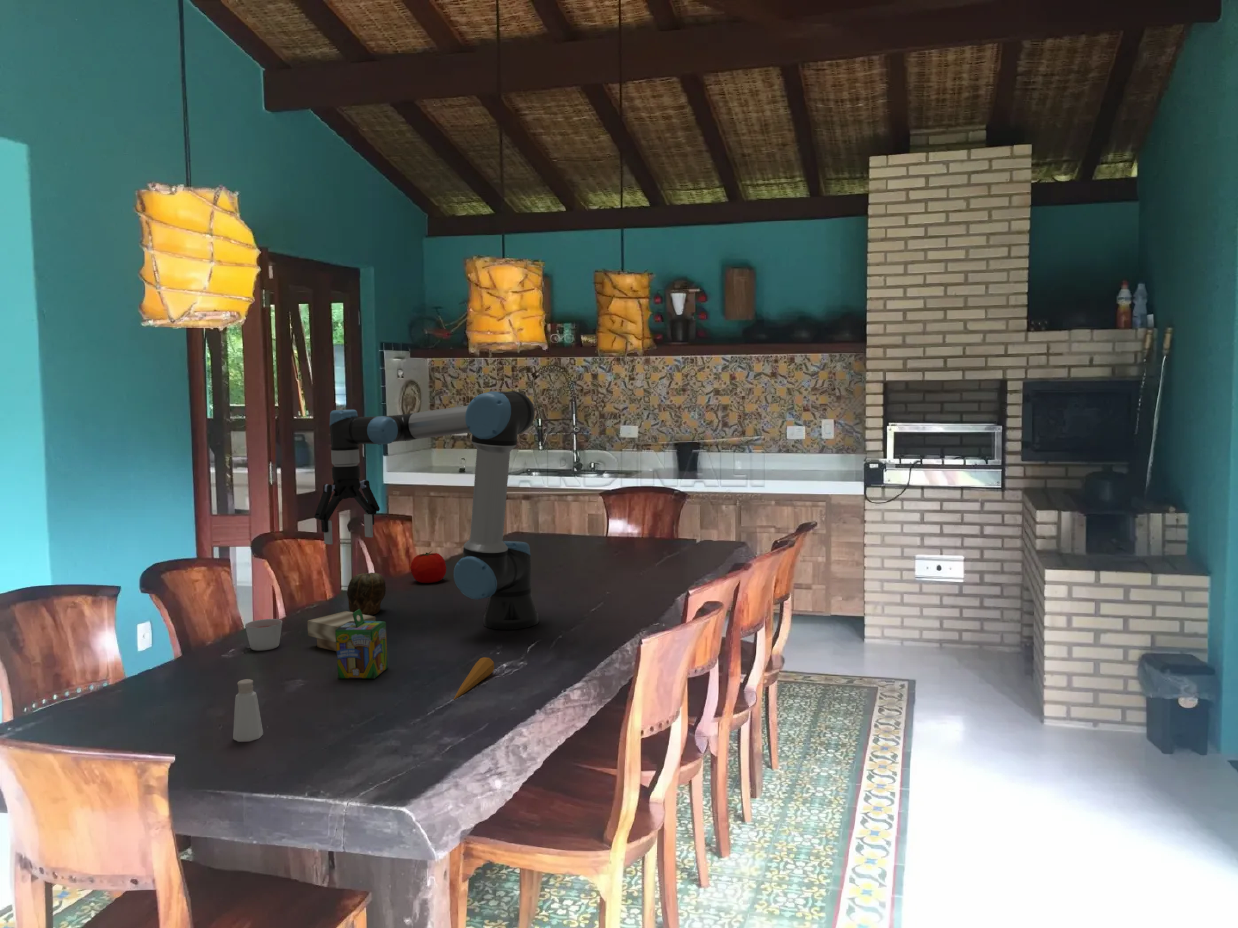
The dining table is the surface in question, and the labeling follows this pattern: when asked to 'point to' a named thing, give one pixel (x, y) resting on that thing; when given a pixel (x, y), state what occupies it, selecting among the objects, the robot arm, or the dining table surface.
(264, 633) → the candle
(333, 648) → the trivet
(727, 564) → the dining table surface
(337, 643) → the chalk box
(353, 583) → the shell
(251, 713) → the salt shaker
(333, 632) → the cover board
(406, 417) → the robot arm
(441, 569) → the tomato
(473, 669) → the carrot
